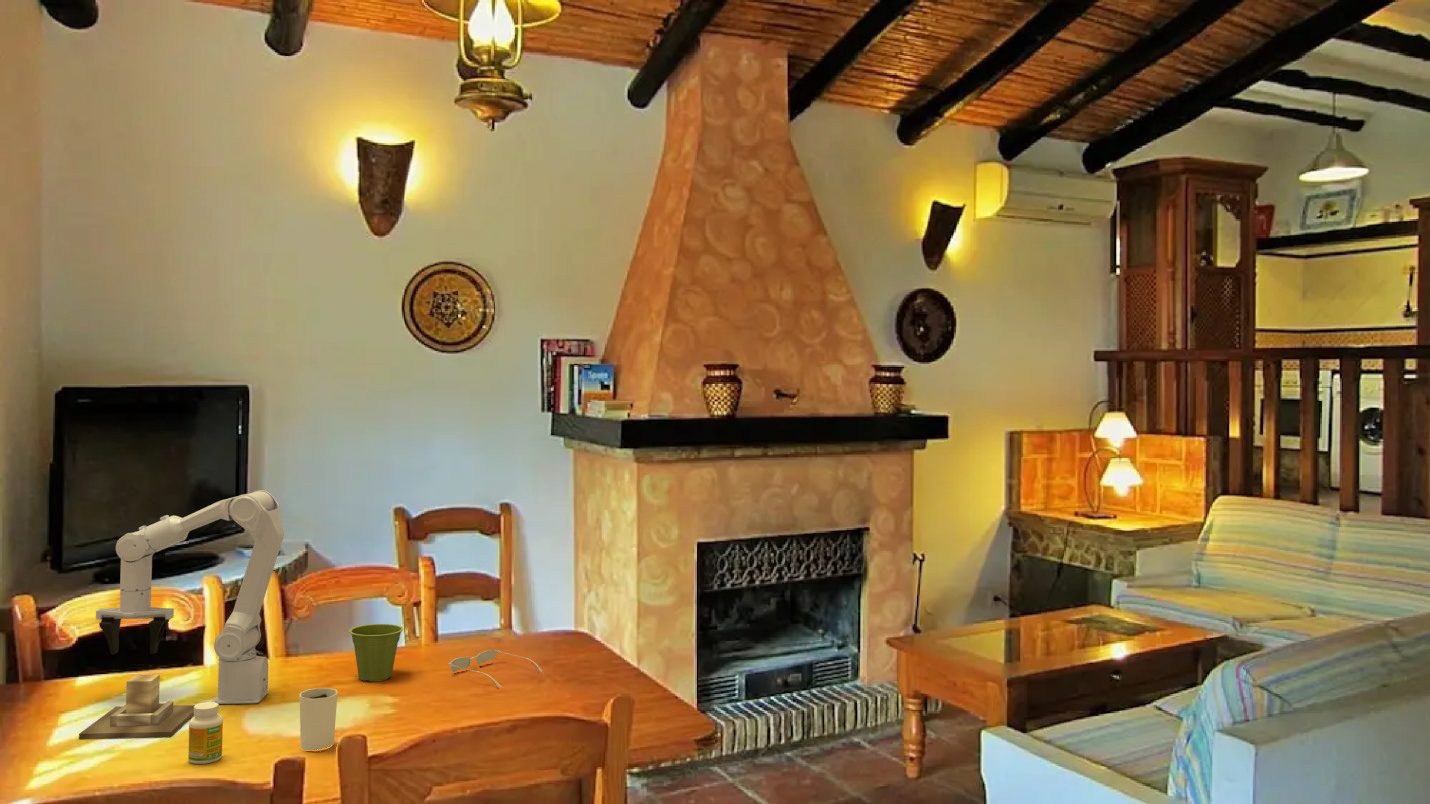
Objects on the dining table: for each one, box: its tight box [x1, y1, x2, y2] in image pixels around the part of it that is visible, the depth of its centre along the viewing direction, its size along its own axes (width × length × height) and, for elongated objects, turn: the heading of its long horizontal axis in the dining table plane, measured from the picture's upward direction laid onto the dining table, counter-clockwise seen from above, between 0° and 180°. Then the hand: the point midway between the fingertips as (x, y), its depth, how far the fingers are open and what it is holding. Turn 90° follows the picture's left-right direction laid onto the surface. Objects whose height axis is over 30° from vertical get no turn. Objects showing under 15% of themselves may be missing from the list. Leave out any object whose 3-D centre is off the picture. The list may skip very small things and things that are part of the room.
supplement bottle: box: [187, 701, 224, 765], centre depth 181 cm, size 5×5×10 cm
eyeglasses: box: [447, 649, 543, 687], centre depth 237 cm, size 15×18×4 cm
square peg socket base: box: [78, 700, 196, 740], centre depth 198 cm, size 16×16×3 cm
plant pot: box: [348, 623, 404, 682], centre depth 232 cm, size 12×12×11 cm
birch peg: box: [125, 674, 161, 714], centre depth 198 cm, size 4×4×8 cm
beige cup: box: [299, 687, 338, 751], centre depth 189 cm, size 7×7×10 cm
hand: (134, 653), depth 213 cm, fingers open, 7 cm apart
